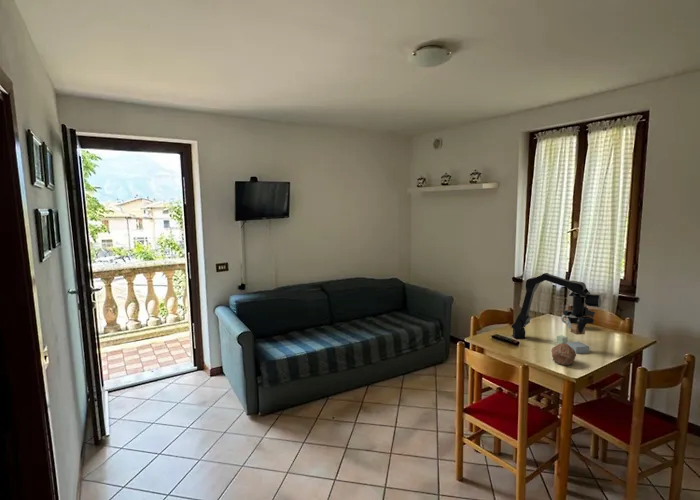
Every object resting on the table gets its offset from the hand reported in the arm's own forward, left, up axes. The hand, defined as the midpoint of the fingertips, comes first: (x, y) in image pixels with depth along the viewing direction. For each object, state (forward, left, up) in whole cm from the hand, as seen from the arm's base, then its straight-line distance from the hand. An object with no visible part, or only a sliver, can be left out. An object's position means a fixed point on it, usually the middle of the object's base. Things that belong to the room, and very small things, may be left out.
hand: (577, 331), depth 216 cm
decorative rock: (-18, -16, -12) cm, 27 cm away
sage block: (-1, +13, -11) cm, 17 cm away
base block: (0, 0, -12) cm, 12 cm away
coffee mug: (+24, +42, -12) cm, 50 cm away
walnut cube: (0, 0, -1) cm, 1 cm away
